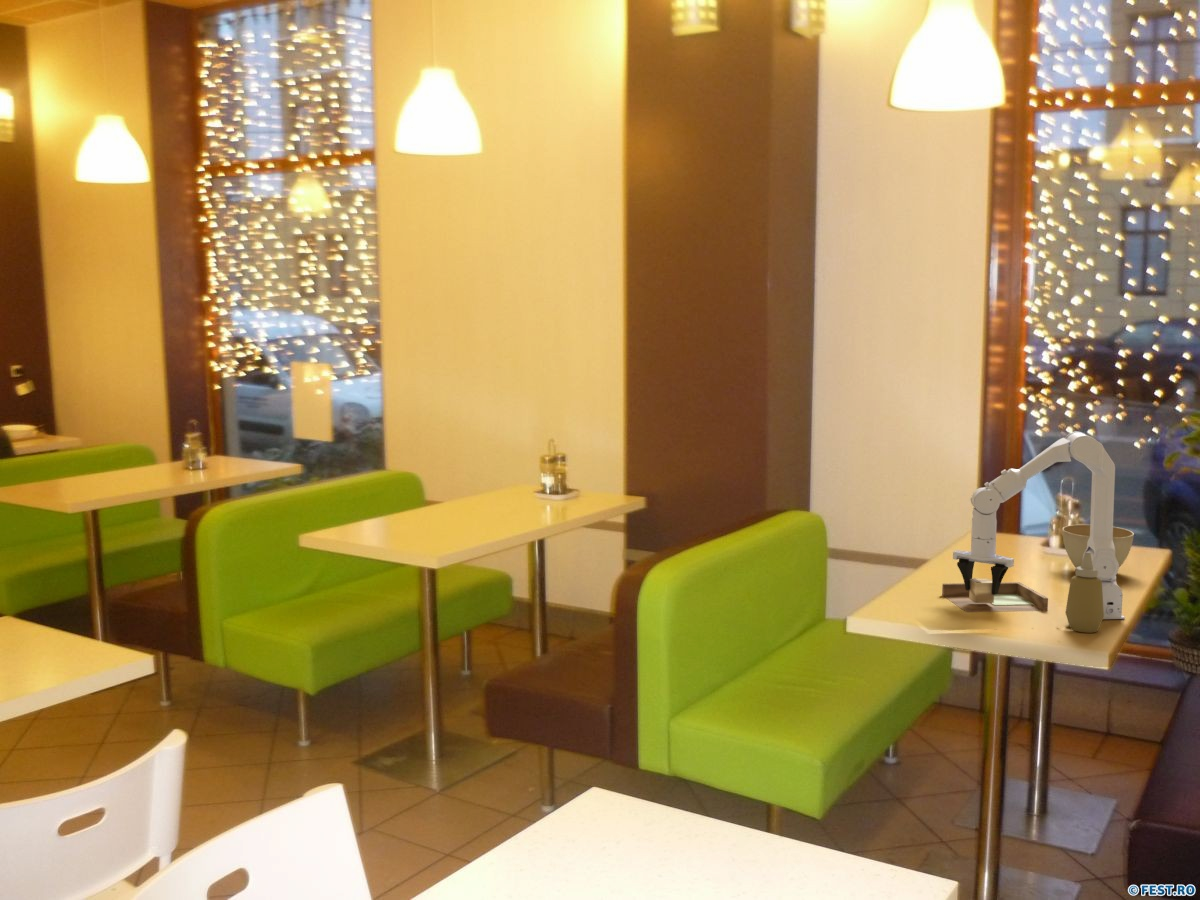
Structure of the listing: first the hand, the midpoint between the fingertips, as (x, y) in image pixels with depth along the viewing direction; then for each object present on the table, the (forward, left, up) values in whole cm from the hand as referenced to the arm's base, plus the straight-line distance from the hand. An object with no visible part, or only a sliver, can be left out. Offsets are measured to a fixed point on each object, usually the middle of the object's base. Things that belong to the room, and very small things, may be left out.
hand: (981, 591), depth 277 cm
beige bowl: (+33, -46, -4) cm, 57 cm away
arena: (+2, -4, -4) cm, 6 cm away
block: (0, 0, -2) cm, 2 cm away
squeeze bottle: (-20, -16, -4) cm, 26 cm away
